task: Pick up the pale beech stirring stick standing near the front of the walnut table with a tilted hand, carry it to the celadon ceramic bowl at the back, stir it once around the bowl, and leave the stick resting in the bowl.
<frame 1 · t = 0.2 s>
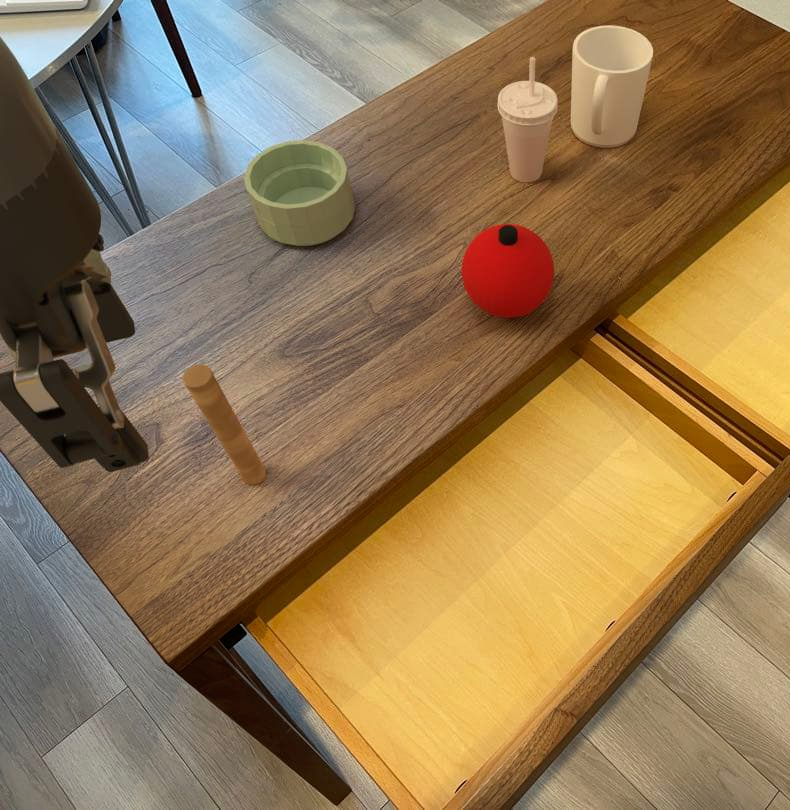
hand: (122, 395, 42), 25 cm above the table, tool pointing down, fingers open, 8 cm apart
bowl: (308, 216, 85), on the table
stick: (254, 474, 68), on the table
smoothie: (525, 172, 90), on the table
ornament: (507, 303, 80), on the table
mug: (601, 133, 95), on the table
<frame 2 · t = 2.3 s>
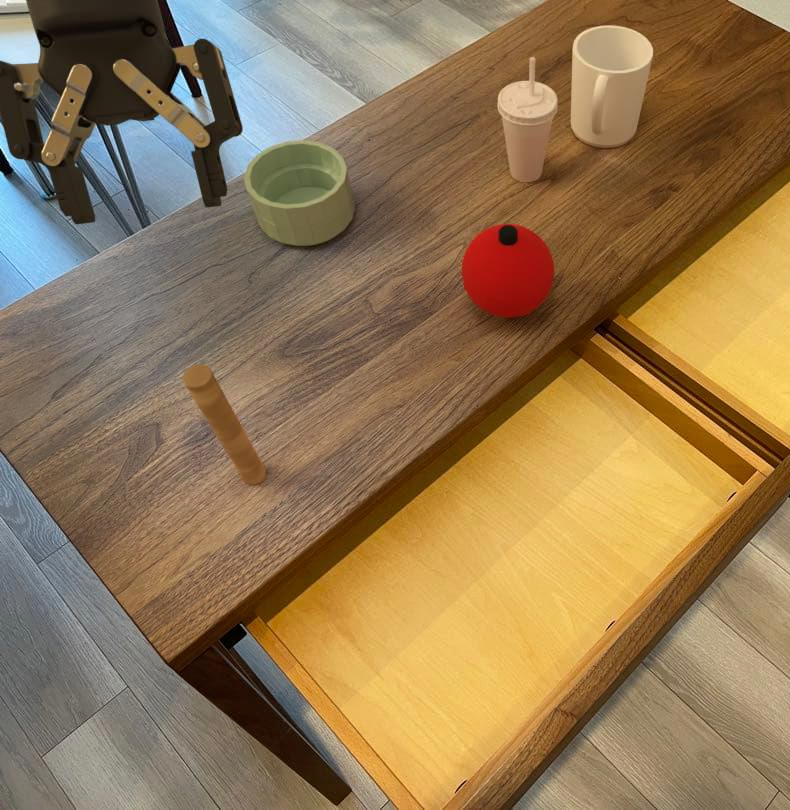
hand: (150, 214, 54), 22 cm above the table, tool tilted 40°, fingers open, 8 cm apart
nothing on the table moved.
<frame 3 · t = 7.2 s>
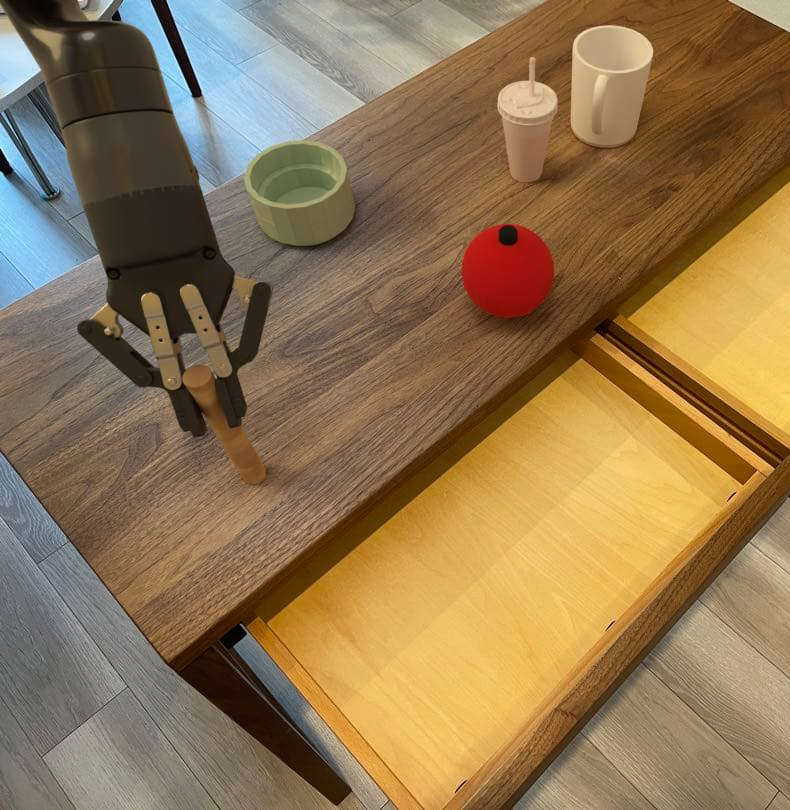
hand: (218, 429, 58), 11 cm above the table, tool tilted 45°, fingers closed on stick, 2 cm apart
stick: (254, 474, 68), on the table, touching gripper
everything else where it was.
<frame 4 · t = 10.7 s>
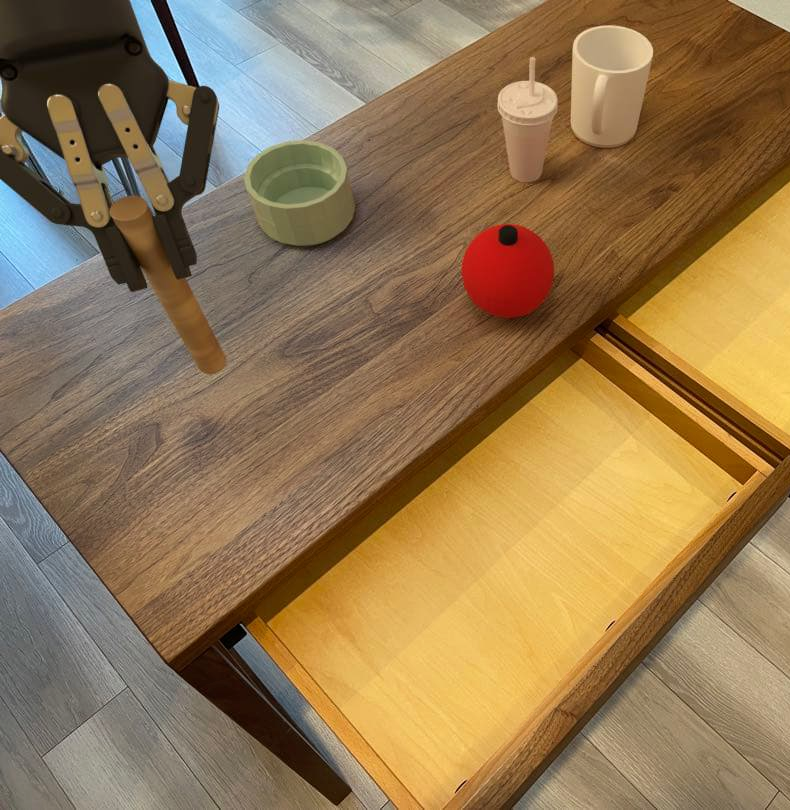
hand: (162, 282, 46), 26 cm above the table, tool tilted 45°, fingers closed on stick
stick: (212, 363, 56), point 15 cm above the table, touching gripper
everything else where it was.
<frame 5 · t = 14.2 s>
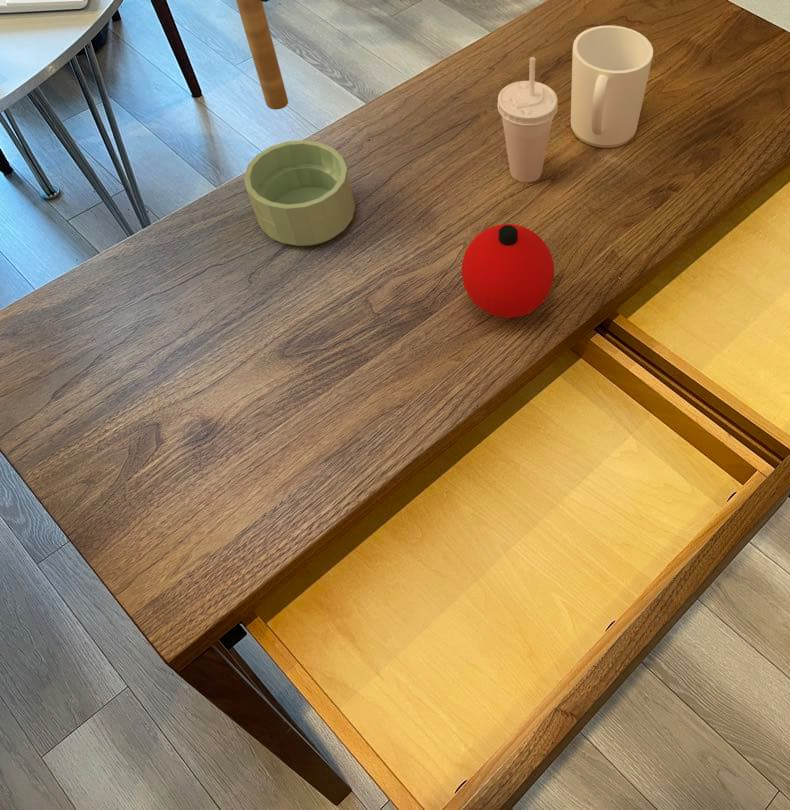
stick: (277, 103, 72), point 15 cm above the table, touching gripper
everything else where it was.
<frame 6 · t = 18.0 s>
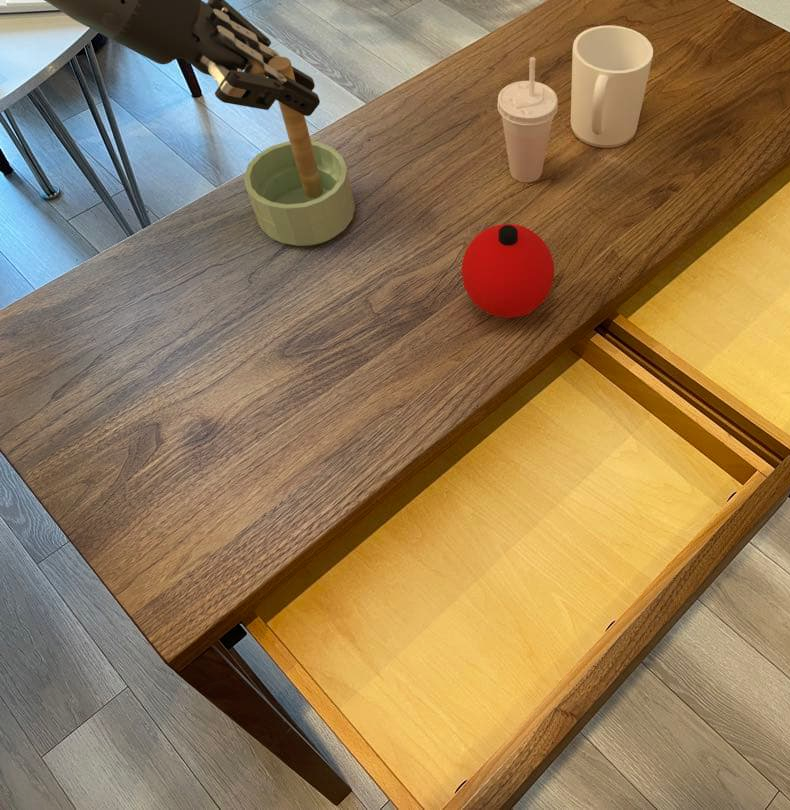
hand: (311, 98, 74), 14 cm above the table, tool tilted 45°, fingers closed on stick, 2 cm apart
stick: (313, 191, 83), point 3 cm above the table, touching gripper
everything else where it was.
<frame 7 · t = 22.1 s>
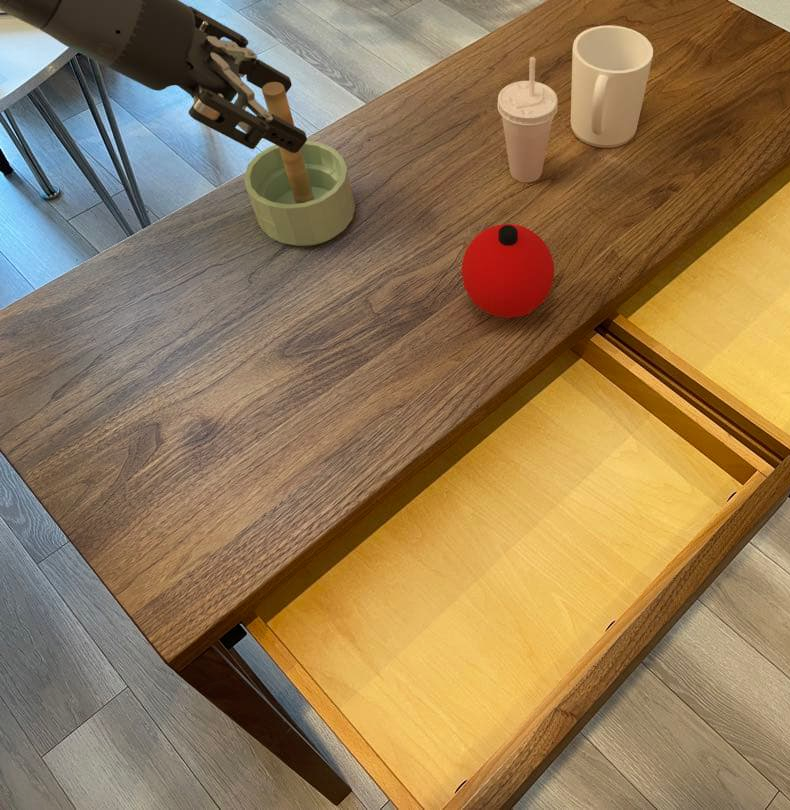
hand: (294, 115, 75), 13 cm above the table, tool tilted 45°, fingers open, 8 cm apart
stick: (307, 211, 84), point 1 cm above the table, touching bowl
everything else where it was.
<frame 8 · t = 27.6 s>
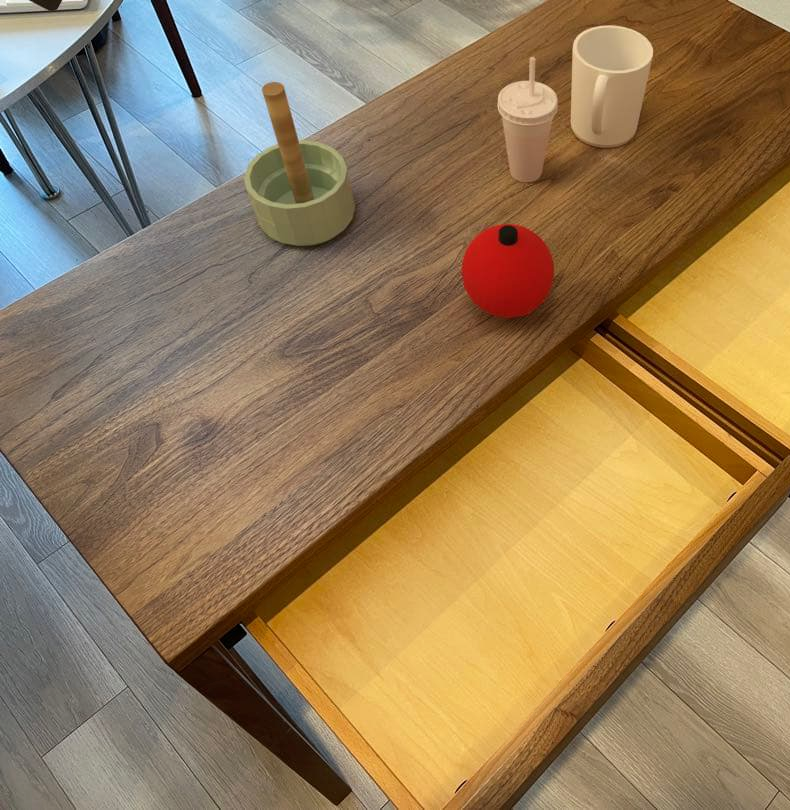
nothing on the table moved.
at the end: stick inside the target area in the bowl (0.1 cm from its centre), point 0.8 cm above the bowl's base; the gripper is holding nothing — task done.
